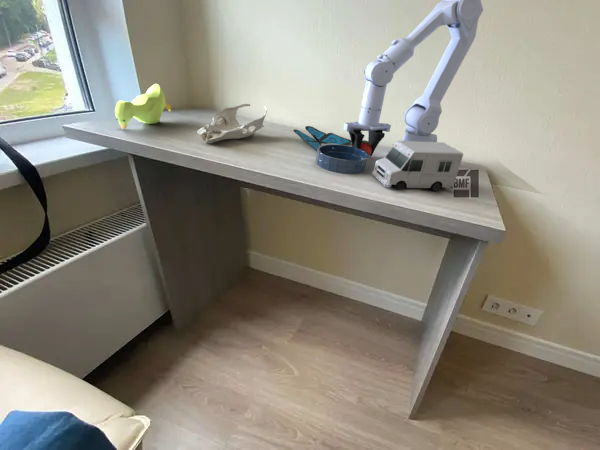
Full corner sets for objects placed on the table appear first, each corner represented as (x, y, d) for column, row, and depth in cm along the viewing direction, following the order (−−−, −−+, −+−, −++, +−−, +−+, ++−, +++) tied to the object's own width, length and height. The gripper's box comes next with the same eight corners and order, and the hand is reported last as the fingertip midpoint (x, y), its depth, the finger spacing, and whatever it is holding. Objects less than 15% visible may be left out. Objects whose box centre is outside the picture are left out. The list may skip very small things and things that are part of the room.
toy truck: (368, 171, 100) (375, 135, 95) (439, 178, 101) (450, 142, 96) (376, 190, 88) (385, 150, 84) (457, 198, 89) (471, 158, 84)
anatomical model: (275, 108, 119) (225, 116, 99) (273, 136, 123) (224, 149, 103) (238, 100, 125) (184, 106, 105) (238, 127, 129) (185, 138, 109)
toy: (154, 136, 128) (107, 125, 109) (162, 87, 126) (116, 68, 107) (168, 139, 127) (124, 129, 108) (177, 90, 124) (133, 71, 105)
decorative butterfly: (314, 130, 128) (315, 122, 127) (350, 143, 122) (352, 135, 121) (280, 144, 113) (281, 135, 112) (319, 160, 108) (321, 151, 106)
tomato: (369, 157, 111) (373, 140, 109) (370, 162, 107) (373, 144, 104) (353, 154, 112) (356, 137, 109) (353, 159, 107) (356, 142, 105)
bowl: (365, 161, 107) (368, 148, 106) (367, 178, 95) (370, 163, 93) (317, 155, 108) (319, 141, 106) (313, 171, 96) (315, 156, 94)
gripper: (356, 110, 96) (347, 160, 103) (401, 112, 102) (389, 159, 108) (343, 104, 102) (335, 152, 108) (386, 106, 107) (376, 151, 114)
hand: (361, 155), depth 109 cm, fingers closed on tomato, 4 cm apart
